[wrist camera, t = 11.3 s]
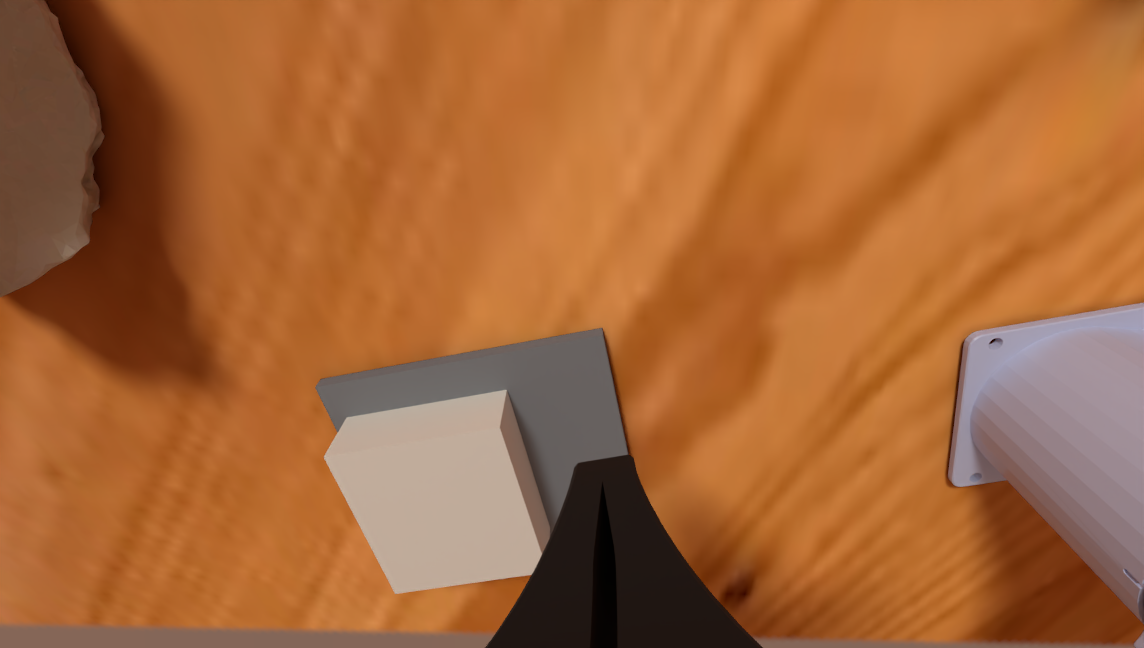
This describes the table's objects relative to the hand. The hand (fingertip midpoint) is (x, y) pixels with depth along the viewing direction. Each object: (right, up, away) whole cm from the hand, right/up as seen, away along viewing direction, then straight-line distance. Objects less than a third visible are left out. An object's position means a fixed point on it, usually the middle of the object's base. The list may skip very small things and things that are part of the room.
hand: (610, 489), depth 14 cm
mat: (-4, -2, +12) cm, 13 cm away
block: (-3, -3, +10) cm, 11 cm away
